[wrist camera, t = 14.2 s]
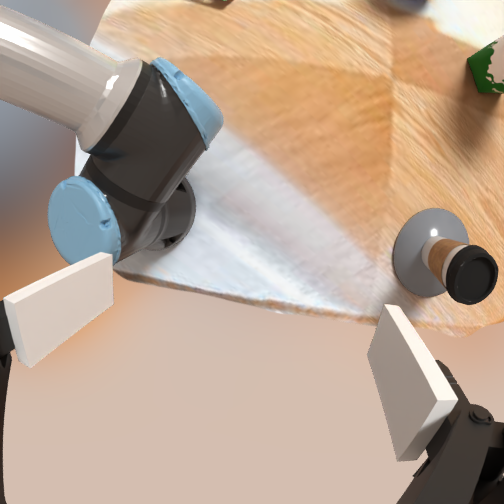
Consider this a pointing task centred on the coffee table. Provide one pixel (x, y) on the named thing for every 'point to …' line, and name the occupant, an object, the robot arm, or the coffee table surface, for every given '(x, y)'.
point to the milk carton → (489, 67)
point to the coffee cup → (461, 268)
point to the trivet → (412, 243)
